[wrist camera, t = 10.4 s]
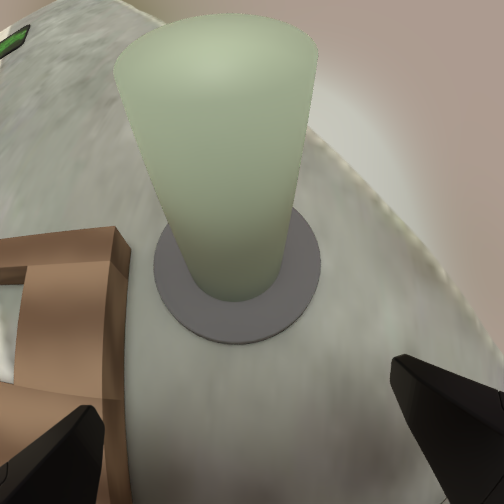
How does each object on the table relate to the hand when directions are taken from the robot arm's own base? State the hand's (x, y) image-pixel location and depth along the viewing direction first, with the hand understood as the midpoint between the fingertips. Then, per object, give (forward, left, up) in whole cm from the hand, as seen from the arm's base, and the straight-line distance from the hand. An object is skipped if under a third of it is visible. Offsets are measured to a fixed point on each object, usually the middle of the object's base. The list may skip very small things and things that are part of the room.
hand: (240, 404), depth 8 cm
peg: (+8, 0, -8) cm, 11 cm away
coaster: (+8, 0, -9) cm, 12 cm away
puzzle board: (0, +15, -9) cm, 17 cm away
